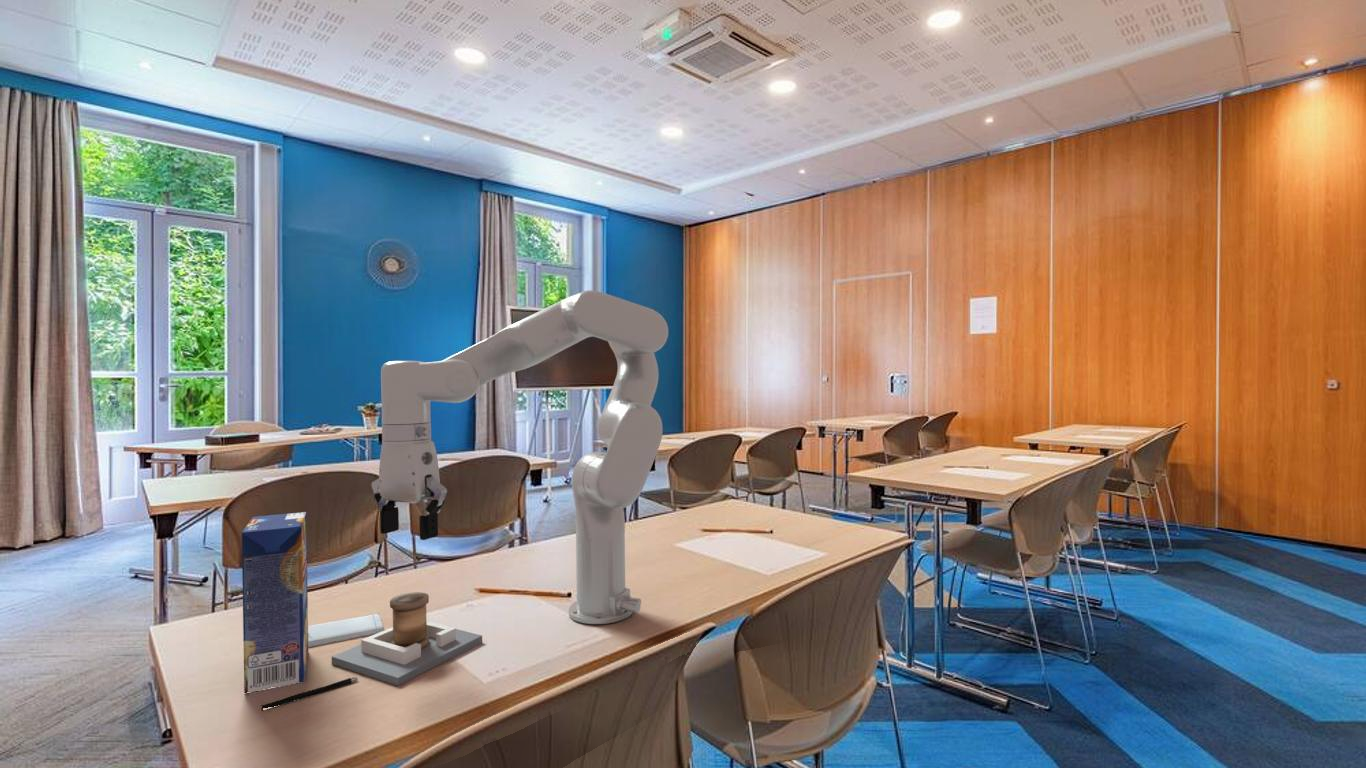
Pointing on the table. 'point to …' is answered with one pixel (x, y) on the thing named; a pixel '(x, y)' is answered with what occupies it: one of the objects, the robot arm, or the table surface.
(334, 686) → the black pencil
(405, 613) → the bobbin
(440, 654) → the notched board
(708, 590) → the table surface
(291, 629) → the juice carton
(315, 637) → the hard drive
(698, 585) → the table surface
